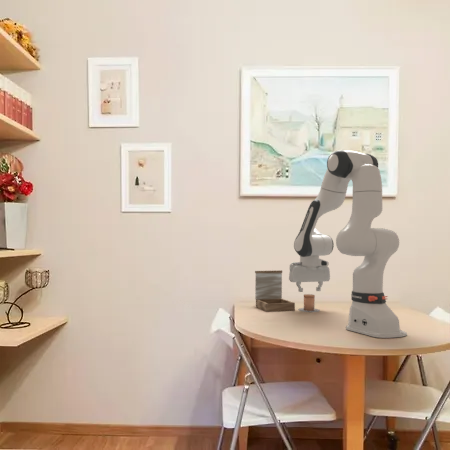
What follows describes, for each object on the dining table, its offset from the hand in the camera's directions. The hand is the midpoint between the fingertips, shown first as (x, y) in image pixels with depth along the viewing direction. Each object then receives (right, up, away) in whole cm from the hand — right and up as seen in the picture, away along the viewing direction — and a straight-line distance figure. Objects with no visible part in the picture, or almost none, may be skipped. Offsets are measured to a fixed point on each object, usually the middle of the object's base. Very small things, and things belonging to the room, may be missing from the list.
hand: (309, 291), depth 195 cm
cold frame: (-16, -9, +3) cm, 19 cm away
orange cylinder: (0, -9, 0) cm, 9 cm away
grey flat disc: (0, -9, 0) cm, 9 cm away
